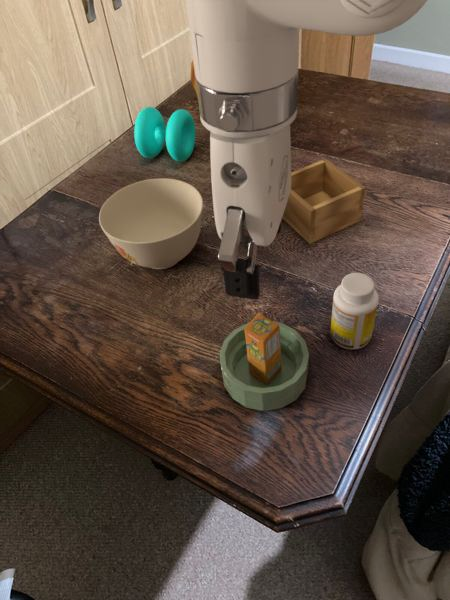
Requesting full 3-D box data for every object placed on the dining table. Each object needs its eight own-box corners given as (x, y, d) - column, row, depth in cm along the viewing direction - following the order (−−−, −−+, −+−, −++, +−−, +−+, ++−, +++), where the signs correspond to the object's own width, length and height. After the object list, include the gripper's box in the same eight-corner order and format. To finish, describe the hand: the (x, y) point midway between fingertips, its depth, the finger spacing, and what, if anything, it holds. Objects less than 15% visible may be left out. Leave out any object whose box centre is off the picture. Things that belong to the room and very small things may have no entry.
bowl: (105, 244, 86) (88, 196, 78) (190, 215, 89) (182, 167, 82) (130, 304, 76) (113, 256, 68) (225, 269, 79) (219, 220, 71)
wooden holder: (323, 191, 90) (325, 158, 85) (361, 220, 84) (365, 187, 79) (274, 211, 88) (274, 179, 83) (309, 244, 81) (311, 211, 76)
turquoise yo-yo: (182, 172, 99) (174, 125, 92) (138, 166, 102) (126, 121, 95) (200, 145, 105) (193, 100, 98) (157, 141, 108) (148, 97, 101)
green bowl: (277, 329, 70) (276, 308, 66) (324, 385, 63) (326, 365, 59) (208, 363, 67) (204, 343, 63) (250, 426, 60) (248, 408, 57)
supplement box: (246, 374, 65) (241, 326, 57) (263, 358, 66) (260, 309, 59) (266, 388, 63) (263, 341, 56) (283, 371, 64) (282, 322, 57)
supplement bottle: (367, 318, 69) (376, 266, 62) (374, 350, 66) (386, 298, 58) (327, 320, 70) (331, 269, 62) (332, 352, 66) (338, 301, 59)
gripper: (271, 162, 31) (273, 332, 43) (315, 50, 42) (307, 212, 54) (160, 152, 33) (193, 318, 45) (230, 48, 44) (241, 205, 56)
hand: (255, 260), depth 50 cm, fingers open, 9 cm apart
